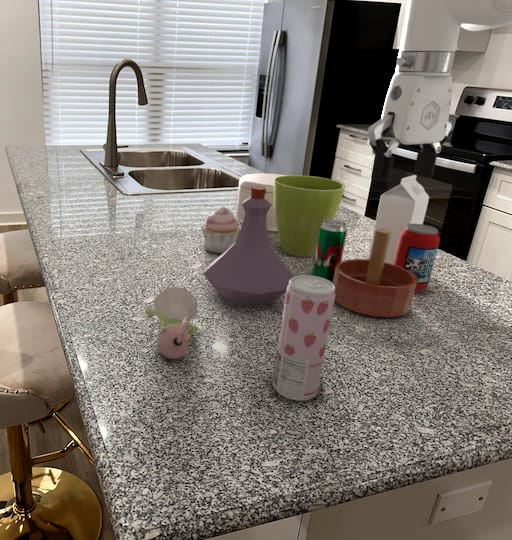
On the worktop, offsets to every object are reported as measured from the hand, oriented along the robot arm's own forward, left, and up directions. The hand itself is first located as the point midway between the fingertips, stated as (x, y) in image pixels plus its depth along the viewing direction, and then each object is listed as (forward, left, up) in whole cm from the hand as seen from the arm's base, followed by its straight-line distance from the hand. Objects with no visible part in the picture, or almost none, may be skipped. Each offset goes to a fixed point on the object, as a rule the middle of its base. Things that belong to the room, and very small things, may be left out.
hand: (401, 178), depth 84 cm
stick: (+1, 0, -22) cm, 22 cm away
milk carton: (-10, -22, -23) cm, 33 cm away
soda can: (+7, -9, -23) cm, 26 cm away
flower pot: (+9, -26, -23) cm, 36 cm away
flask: (+23, +1, -23) cm, 32 cm away
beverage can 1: (+19, +29, -23) cm, 41 cm away
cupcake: (+27, -24, -23) cm, 43 cm away
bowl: (+1, 0, -23) cm, 23 cm away
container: (+13, -48, -23) cm, 55 cm away
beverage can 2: (-9, -9, -23) cm, 26 cm away
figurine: (+36, +19, -23) cm, 47 cm away
